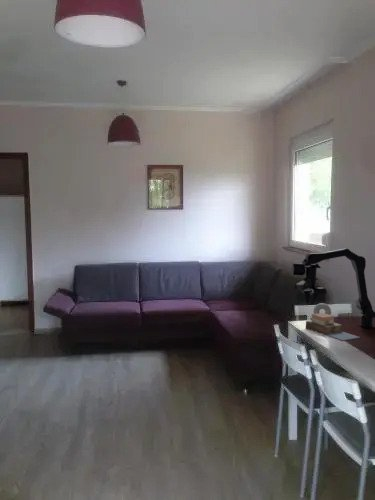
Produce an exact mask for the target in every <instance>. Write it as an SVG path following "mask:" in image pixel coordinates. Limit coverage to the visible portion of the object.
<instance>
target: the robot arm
mask: <svg viewBox="0 0 375 500" xmlns="http://www.w3.org/2000/svg"><path fill="white" fill-rule="evenodd" d="M340 257H341V258H342V257H345V258H346V259H348V260H350V262H351V265H352V268H353V270H354V272H355V278H356V285H357V292H358V299H355V304H356V307H355V308H357V310H358V311H359V312H360V314H361V321H360V324H359V325H358V326H359V327H360V328H361V327H362V328H365V329H368V330H369V329H374V328H375V310H373V306H372V302H371V301H370V299H369V296H368V289H367V281H366V275H365V271H366V266H367V264H366V263H367V262H366V261H367V260H366V258H365V256H361V255H358V254H357V253H355V252H353V251H351V250H350V249H349V248H346V247H344V248H340V249H335V250H329V251H324V252H308V253H306V254H305V257H304V259H303V260H302V262H301V263H295V262H292V265H291V269H290V273H291V276H296V277H298V276H299V277H300V276H301V277H303V276H304V275H305V276H304V277H303V279H302V280H301V281H299V282H297V283H296V284H295V285H294V289H295V290H298V291H300V292H301V293H302V294H303V296H304V300H305V303H306V305H307V304H309V303H310V305H314V303H315V302H316V300H317V297H319V295H324V294H325V295H326V294H327V289H326V288H325V287H318V285H317V281H318V280H319V278H318V277H317V271H318V269H321V268H322V267H321V266H320V265H319V263H321V262H323V261H325V260H331V259H336V258H340Z"/></svg>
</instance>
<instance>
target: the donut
mask: <svg viewBox="0 0 375 500" xmlns="http://www.w3.org/2000/svg"><path fill="white" fill-rule="evenodd" d="M321 310H324V313H325V314H328V315H332V309H331V307H330V306H329V305H328V304H327V303H323V302H321V303H318V304H316V305H315V306H314V307H313V310H312V311H313V312H312V313H313V314H318V313H320V311H321Z"/></svg>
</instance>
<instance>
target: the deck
mask: <svg viewBox="0 0 375 500" xmlns="http://www.w3.org/2000/svg"><path fill="white" fill-rule="evenodd" d="M311 321H312V319H311V320H306V321H305V329H306V330H309V331H312V332H315V333H318V334H320V335H324V336H326V334H331V333H337V332H343V324H340V323H337V322H334V324H327V325H321V324H317V323H314V322H311Z"/></svg>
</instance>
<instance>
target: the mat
mask: <svg viewBox="0 0 375 500" xmlns="http://www.w3.org/2000/svg"><path fill="white" fill-rule="evenodd" d="M325 336H327V337H330V338H333V339H335V340H338V341H341V342H345V341H349V340H350V341H351V340H357V339H360V338H361V337H360V336H357V335H355V334H351V333H349V332H345V331H342V332H337V333H331V334H326V335H325Z"/></svg>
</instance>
